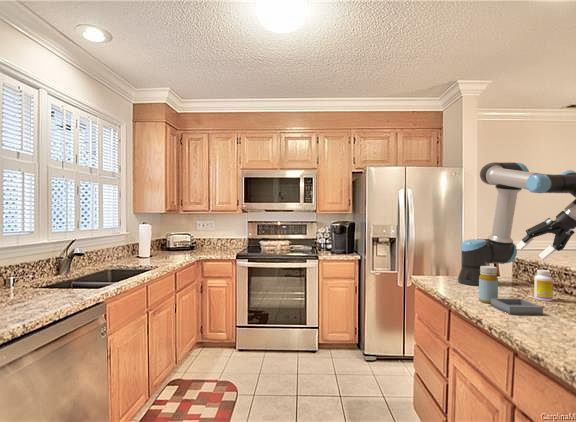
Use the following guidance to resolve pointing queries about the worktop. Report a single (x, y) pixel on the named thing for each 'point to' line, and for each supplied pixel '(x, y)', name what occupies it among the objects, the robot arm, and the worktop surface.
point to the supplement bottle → (543, 286)
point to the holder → (516, 306)
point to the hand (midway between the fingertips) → (529, 252)
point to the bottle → (488, 284)
